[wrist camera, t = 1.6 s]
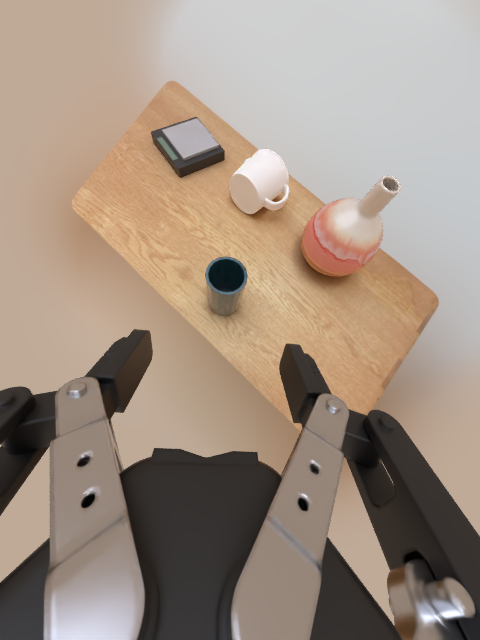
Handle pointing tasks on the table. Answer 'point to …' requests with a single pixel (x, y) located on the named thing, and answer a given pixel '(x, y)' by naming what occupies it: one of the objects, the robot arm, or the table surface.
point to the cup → (225, 285)
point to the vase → (347, 231)
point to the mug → (260, 182)
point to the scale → (188, 146)
